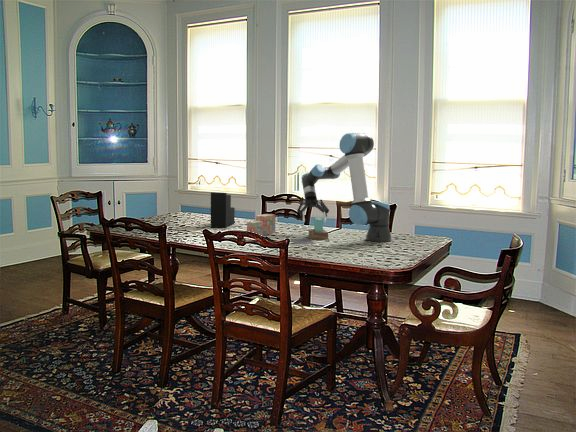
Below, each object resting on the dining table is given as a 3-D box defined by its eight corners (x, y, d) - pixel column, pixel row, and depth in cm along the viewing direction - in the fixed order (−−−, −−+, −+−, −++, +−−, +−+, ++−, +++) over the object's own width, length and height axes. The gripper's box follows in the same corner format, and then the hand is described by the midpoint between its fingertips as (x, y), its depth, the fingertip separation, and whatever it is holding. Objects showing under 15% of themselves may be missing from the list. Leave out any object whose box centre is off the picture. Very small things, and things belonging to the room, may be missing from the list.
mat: (289, 239, 348) (289, 239, 348) (309, 239, 350) (309, 238, 350) (294, 244, 333) (294, 243, 333) (315, 244, 335) (315, 243, 335)
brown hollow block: (307, 236, 360) (308, 229, 360) (323, 236, 362) (323, 229, 361) (312, 240, 347) (312, 232, 347) (328, 240, 349) (329, 232, 349)
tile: (313, 235, 358) (314, 217, 357) (319, 235, 359) (319, 217, 357) (316, 237, 350) (317, 219, 349) (322, 237, 351) (322, 219, 350)
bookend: (220, 222, 411) (220, 189, 408) (235, 223, 409) (235, 190, 406) (210, 227, 388) (210, 192, 385) (225, 228, 386) (226, 193, 383)
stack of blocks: (254, 238, 352) (254, 217, 351) (246, 236, 356) (246, 216, 354) (275, 233, 370) (275, 214, 368) (267, 232, 373) (267, 213, 372)
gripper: (327, 198, 380) (333, 224, 368) (290, 198, 376) (294, 225, 363) (330, 191, 374) (335, 217, 362) (291, 190, 370) (296, 217, 357)
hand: (314, 221), depth 362 cm, fingers open, 13 cm apart
